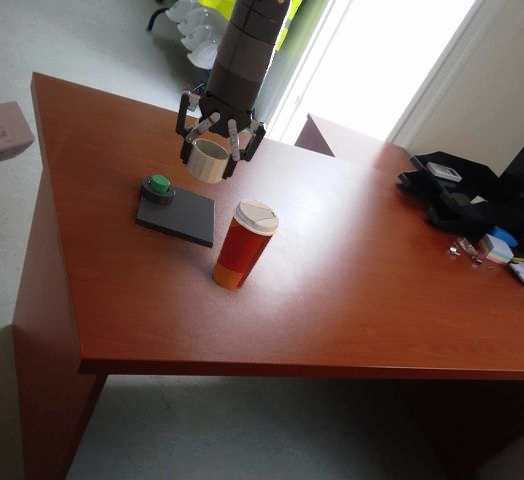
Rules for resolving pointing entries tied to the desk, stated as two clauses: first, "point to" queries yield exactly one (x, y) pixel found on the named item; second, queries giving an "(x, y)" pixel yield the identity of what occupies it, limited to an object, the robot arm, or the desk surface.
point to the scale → (177, 213)
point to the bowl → (207, 161)
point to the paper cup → (244, 242)
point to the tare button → (159, 183)
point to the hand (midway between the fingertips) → (204, 169)
